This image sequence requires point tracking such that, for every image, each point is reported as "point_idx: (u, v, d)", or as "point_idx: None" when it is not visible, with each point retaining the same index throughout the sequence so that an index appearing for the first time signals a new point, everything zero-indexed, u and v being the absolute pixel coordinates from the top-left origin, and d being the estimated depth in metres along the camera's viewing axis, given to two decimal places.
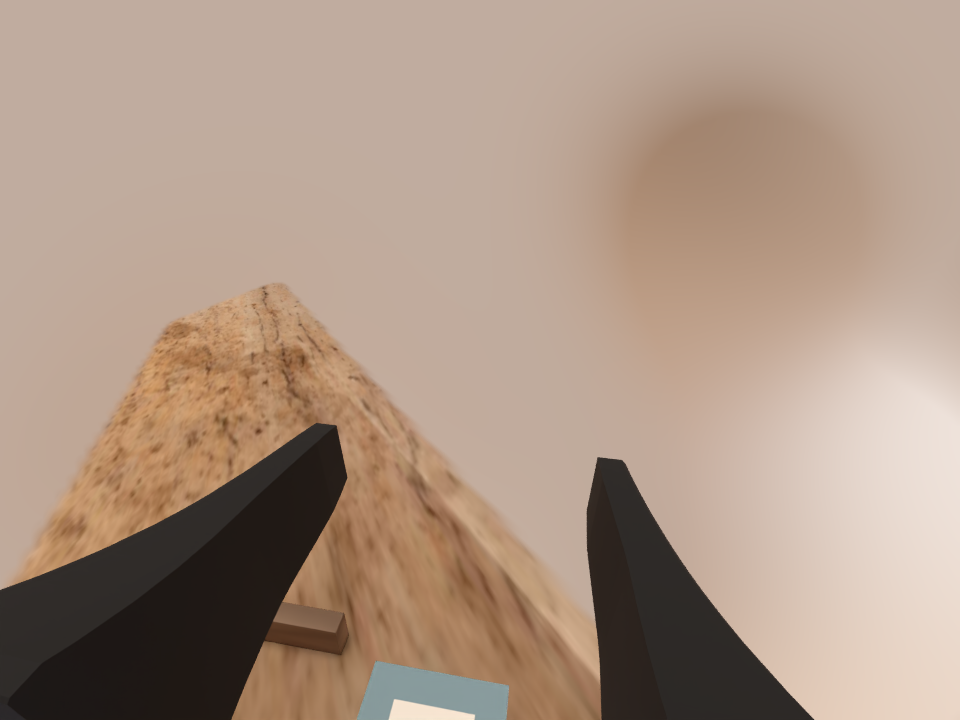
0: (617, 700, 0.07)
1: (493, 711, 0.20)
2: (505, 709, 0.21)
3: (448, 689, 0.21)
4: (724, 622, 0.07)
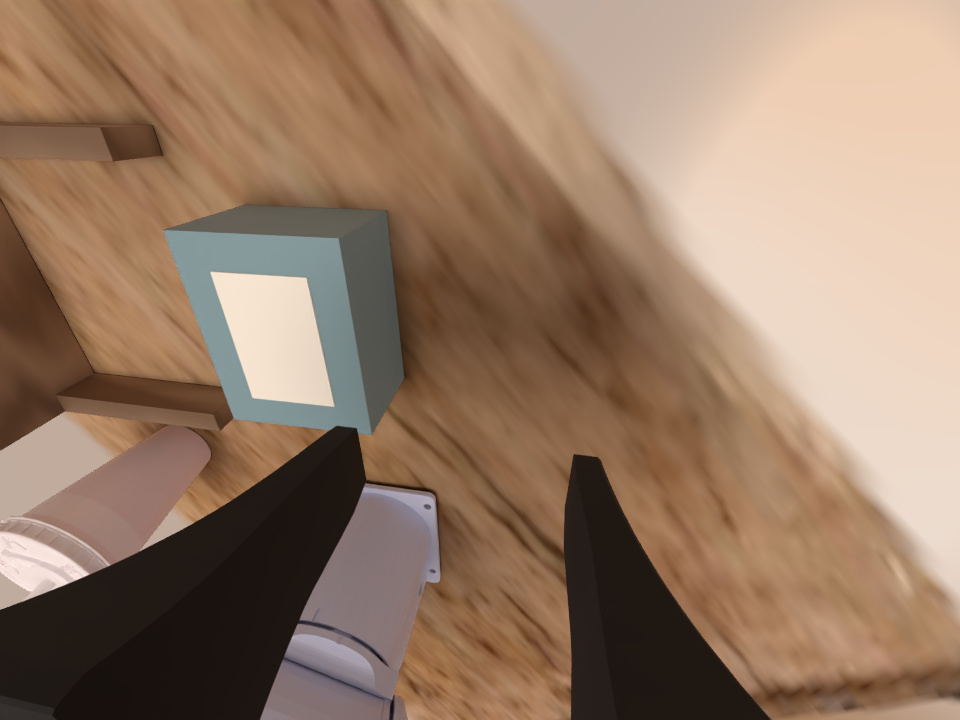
0: (582, 693, 0.07)
1: (327, 270, 0.16)
2: (341, 266, 0.15)
3: (265, 252, 0.16)
4: (683, 615, 0.07)
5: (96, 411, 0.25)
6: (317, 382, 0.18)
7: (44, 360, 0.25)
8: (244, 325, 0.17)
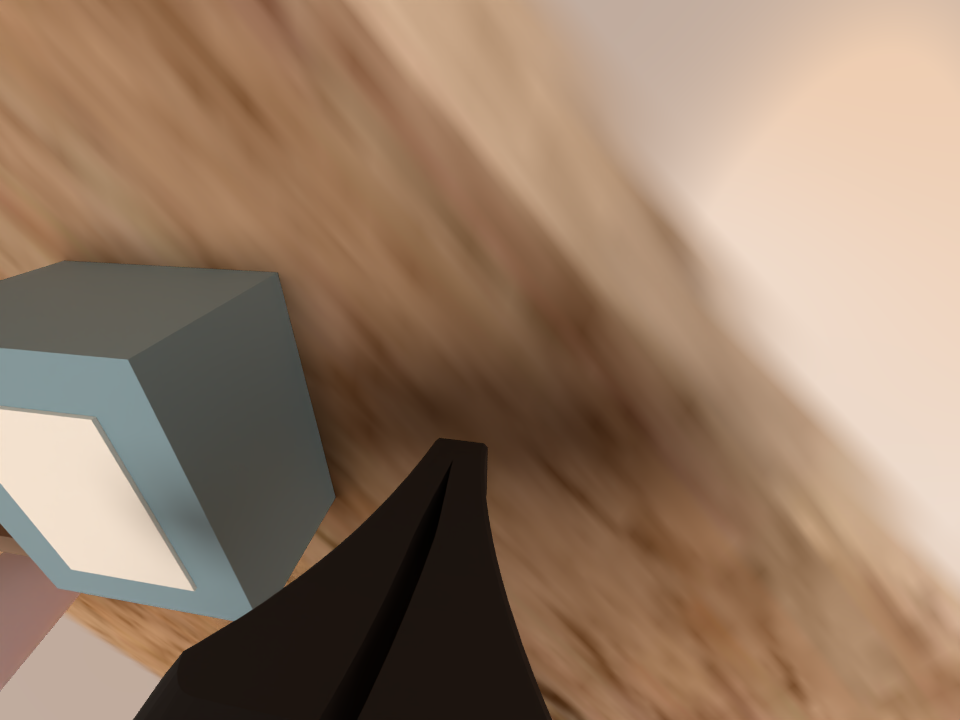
0: None
1: (125, 409, 0.08)
2: (147, 404, 0.08)
3: (12, 376, 0.08)
4: (498, 584, 0.07)
5: None
6: (159, 560, 0.11)
7: None
8: (19, 478, 0.10)
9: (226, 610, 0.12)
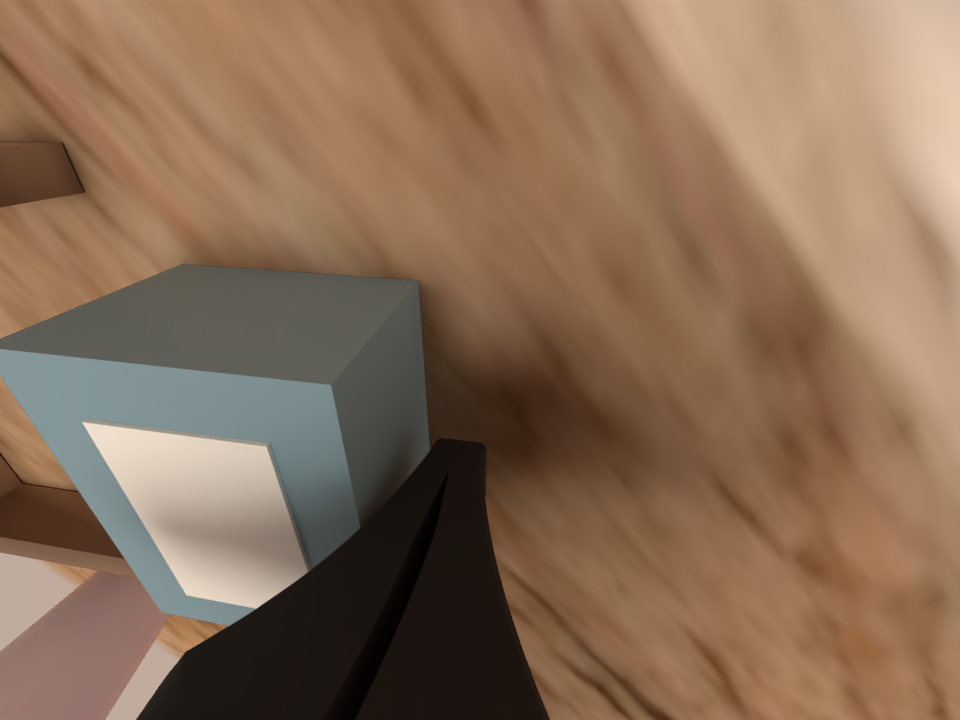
0: None
1: (308, 436, 0.08)
2: (337, 431, 0.08)
3: (183, 398, 0.08)
4: (496, 584, 0.07)
5: (17, 551, 0.18)
6: None
7: None
8: (158, 503, 0.09)
9: None
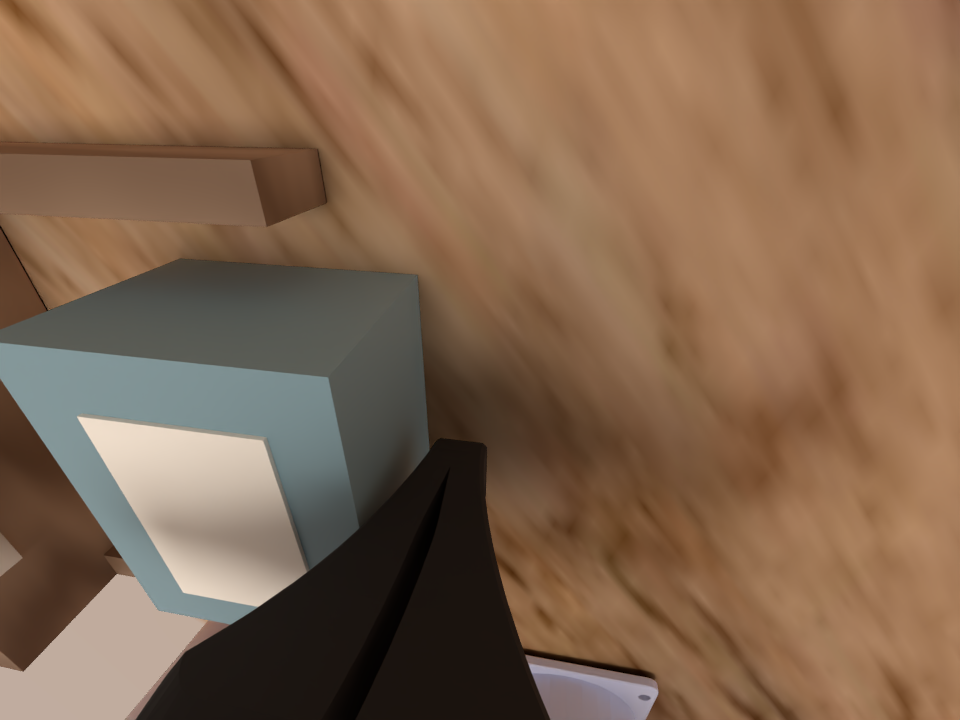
0: None
1: (305, 429, 0.08)
2: (334, 425, 0.07)
3: (179, 391, 0.08)
4: (497, 584, 0.07)
5: None
6: None
7: (88, 508, 0.16)
8: (154, 499, 0.09)
9: None
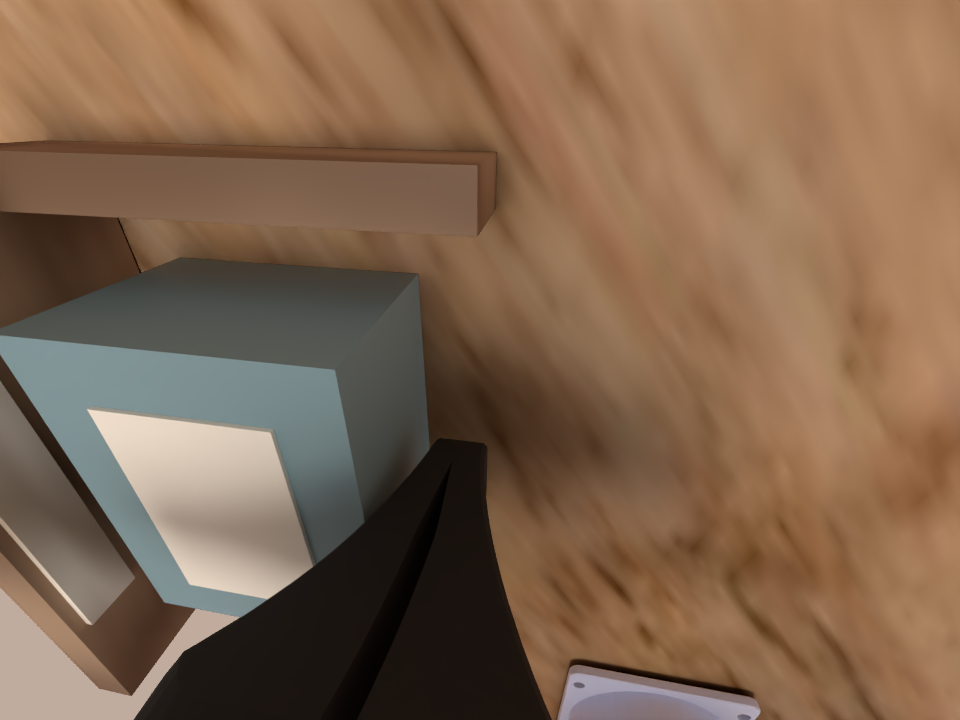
0: None
1: (312, 421, 0.08)
2: (340, 417, 0.08)
3: (188, 384, 0.08)
4: (497, 584, 0.07)
5: None
6: (297, 577, 0.10)
7: None
8: (162, 491, 0.10)
9: None
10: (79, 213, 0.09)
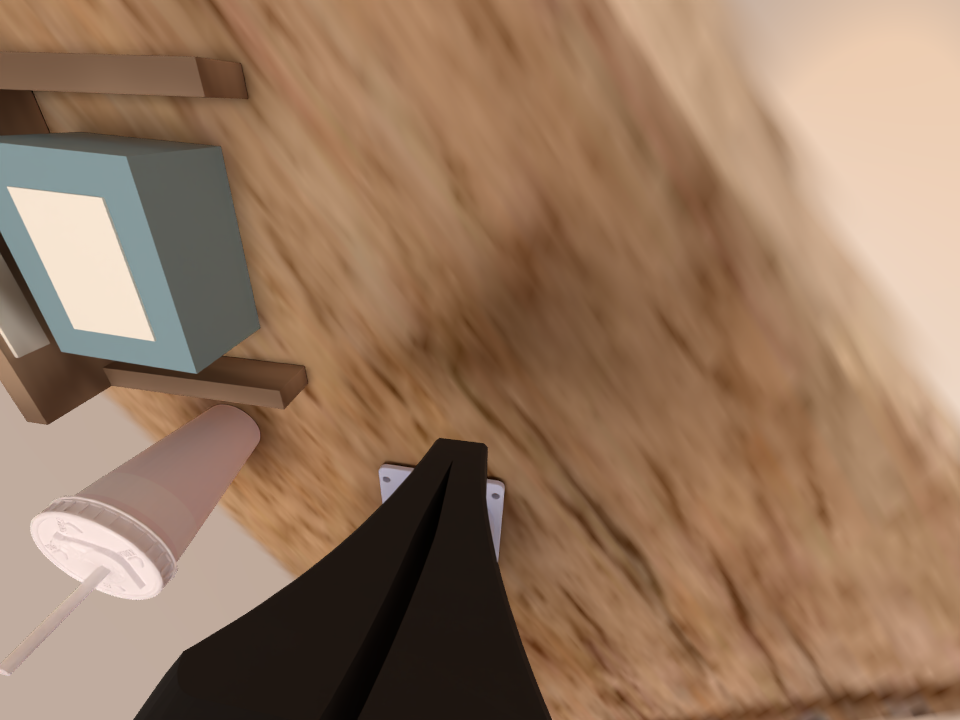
0: None
1: (121, 191, 0.15)
2: (134, 187, 0.15)
3: (58, 168, 0.15)
4: (498, 584, 0.07)
5: (147, 386, 0.24)
6: (133, 313, 0.18)
7: None
8: (51, 247, 0.17)
9: (174, 360, 0.19)
10: (6, 87, 0.16)
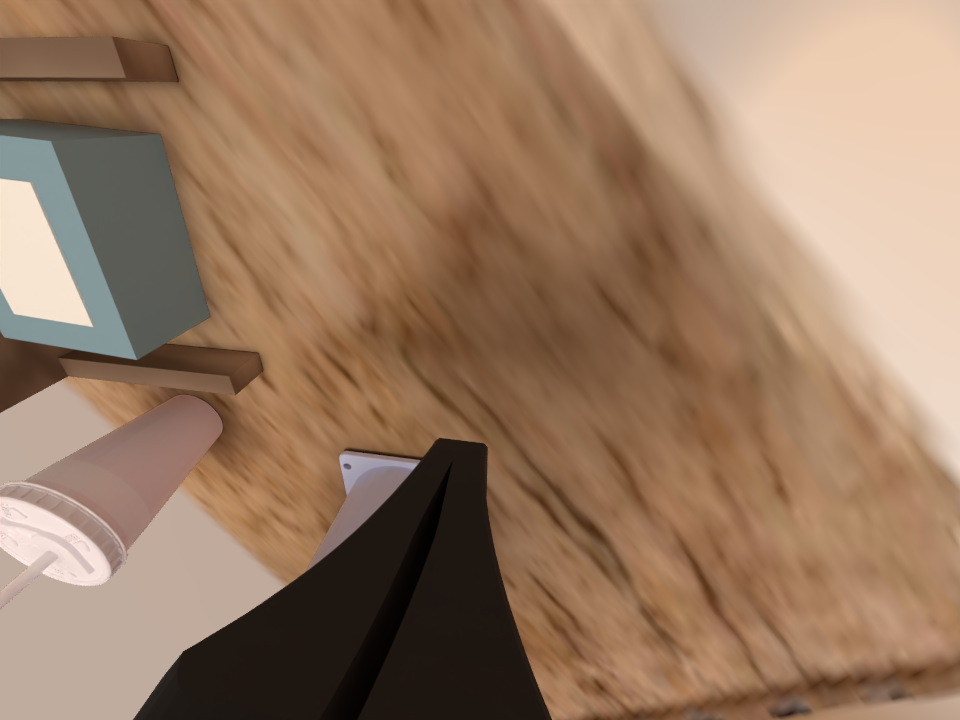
0: None
1: (49, 176, 0.16)
2: (61, 172, 0.15)
3: None
4: (498, 584, 0.07)
5: (102, 375, 0.24)
6: (70, 299, 0.18)
7: None
8: None
9: (114, 346, 0.19)
10: None
